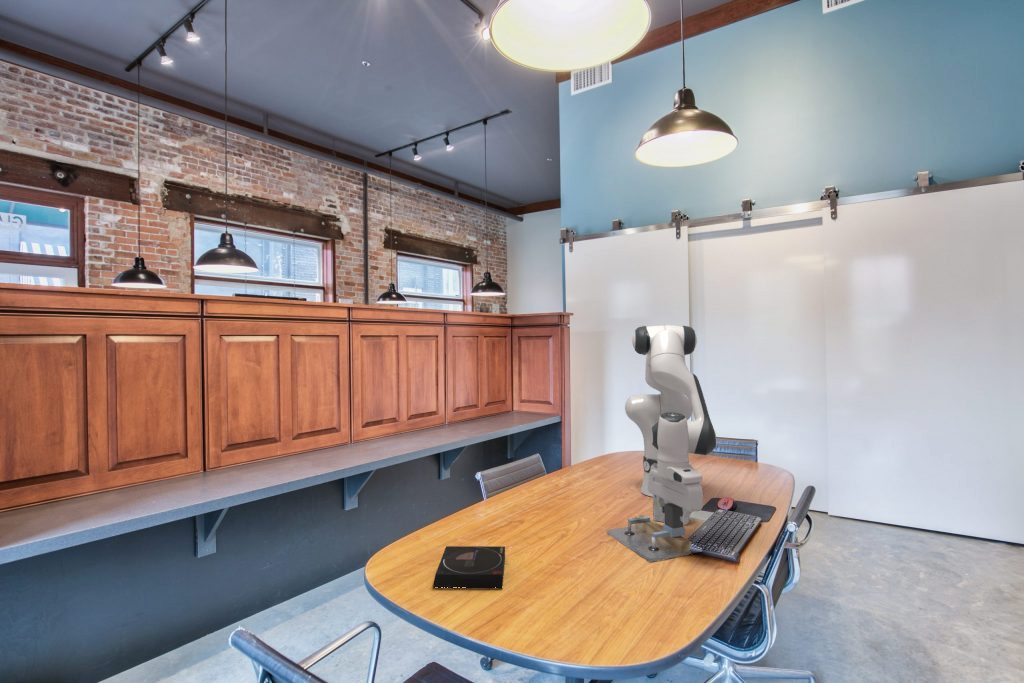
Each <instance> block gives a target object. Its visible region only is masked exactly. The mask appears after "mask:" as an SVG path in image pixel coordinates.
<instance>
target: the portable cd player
mask: <svg viewBox="0 0 1024 683" xmlns="http://www.w3.org/2000/svg"><path fill="white" fill-rule="evenodd" d="M504 565H505V566H506V546H498V545H497V546H491V545H490V546H487V545H486V546H479V545H478V546H477V545H475V546H470V545H469V546H466V545H465V546H463V545H459V546H455V545H453V546H452V545H450V546H445V548H444V551H443V554H442V555H441V559H440V561H439V565H438V567H437V569H436V572H435V575H434V580H433V583H432V587H433V589H434V588H435V587H438V588H441V587H443V588H444V587H445V588H447V587H448V588H453V587H457V588H458V587H460V588H462V587H466V588H495V587H496V588H502V586H504V577H503V576H504V575H505V566H504ZM502 589H503V588H502Z"/></svg>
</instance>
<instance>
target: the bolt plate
mask: <svg viewBox="0 0 1024 683" xmlns="http://www.w3.org/2000/svg"><path fill="white" fill-rule="evenodd" d="M606 534H607V535H609V536H610V537H612V538H613V539H614V540H616V541H617V542H619V543H620V544H622V545H623V546H625V547H626V548H627V549H629V550H630V551H632V552H634V553H635V554H636V555H638V556H640V558H642V559H644V560H645V559H646V560H645V561H647V562H648V561H649V562H648V563H654V562H653V561H655V562H659V561H658V560H660V561H664V560H663V559H665V560H669V559H668V558H671V559H674V558H673V557H676V558H679V557H678V556H681V557H683V556H682V555H686V556H690V555H689V554H691V551H688V552H683V553H681V552H679V551H677V550H676V549H674V548H672V547H671V546H669V545H667V544H665V543H664V542H662V541H660V540H659V539H657V538H656V548H655V549H653V548H652V535H650V534H649V533H647V532H645V531H644V530H642V529H640V528H639V527H637V526H635V525H631V534H629V533H628V526H622V527H618V528H612V529H611V528H610V529H607V530H606ZM691 555H692V554H691Z"/></svg>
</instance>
